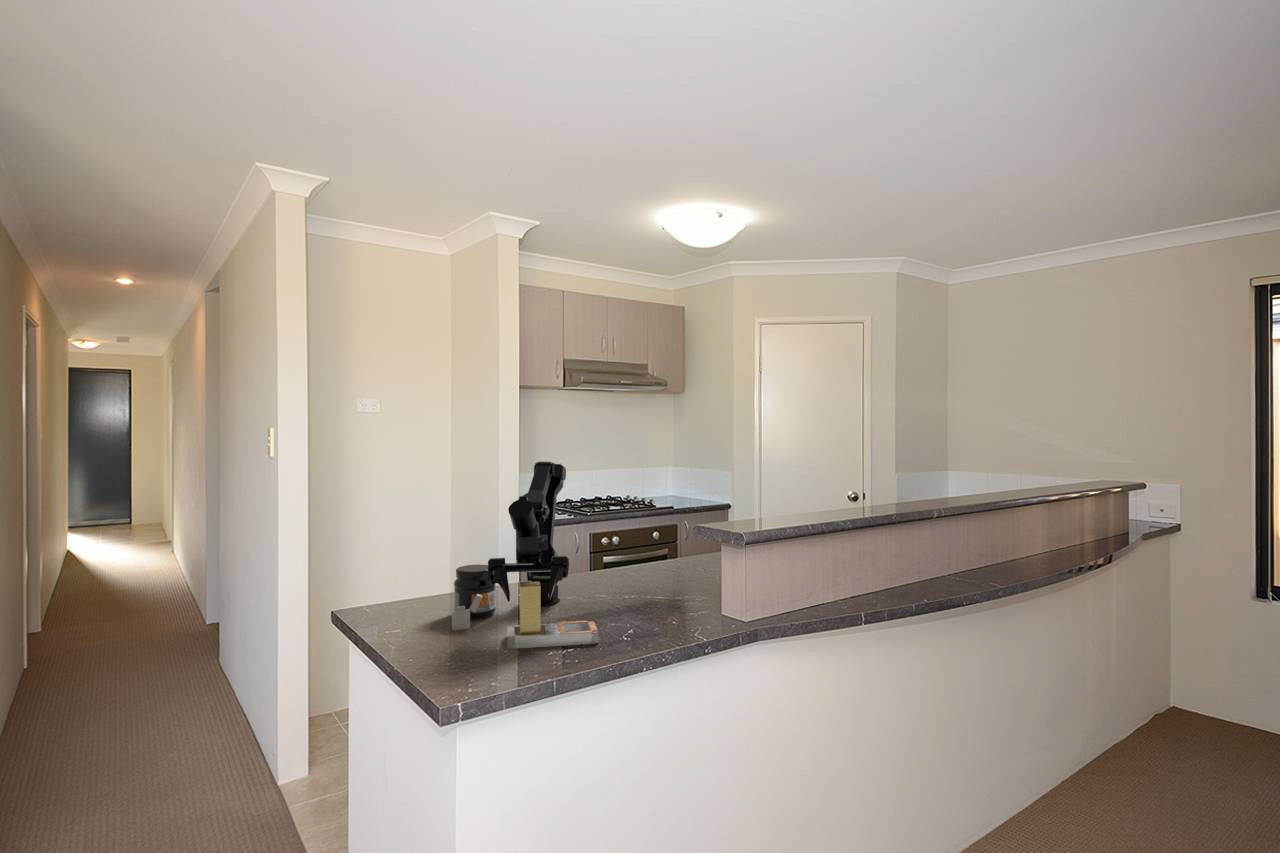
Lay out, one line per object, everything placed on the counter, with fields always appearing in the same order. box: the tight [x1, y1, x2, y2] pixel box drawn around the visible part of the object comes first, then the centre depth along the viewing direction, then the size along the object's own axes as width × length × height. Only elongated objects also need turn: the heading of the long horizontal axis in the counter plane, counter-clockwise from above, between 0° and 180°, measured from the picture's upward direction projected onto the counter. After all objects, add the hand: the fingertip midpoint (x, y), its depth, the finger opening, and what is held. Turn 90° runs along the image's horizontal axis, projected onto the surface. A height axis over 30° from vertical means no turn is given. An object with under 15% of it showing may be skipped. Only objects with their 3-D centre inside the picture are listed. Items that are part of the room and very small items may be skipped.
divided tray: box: [506, 620, 599, 650], centre depth 162 cm, size 20×9×3 cm, turn 101°
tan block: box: [519, 581, 542, 636], centre depth 161 cm, size 4×4×13 cm
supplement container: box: [453, 563, 497, 620], centre depth 183 cm, size 10×10×12 cm
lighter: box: [451, 594, 483, 631], centre depth 171 cm, size 7×2×8 cm, turn 110°
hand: (529, 599), depth 162 cm, fingers open, 9 cm apart
